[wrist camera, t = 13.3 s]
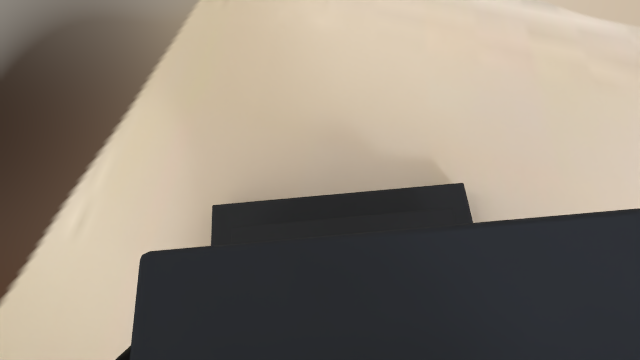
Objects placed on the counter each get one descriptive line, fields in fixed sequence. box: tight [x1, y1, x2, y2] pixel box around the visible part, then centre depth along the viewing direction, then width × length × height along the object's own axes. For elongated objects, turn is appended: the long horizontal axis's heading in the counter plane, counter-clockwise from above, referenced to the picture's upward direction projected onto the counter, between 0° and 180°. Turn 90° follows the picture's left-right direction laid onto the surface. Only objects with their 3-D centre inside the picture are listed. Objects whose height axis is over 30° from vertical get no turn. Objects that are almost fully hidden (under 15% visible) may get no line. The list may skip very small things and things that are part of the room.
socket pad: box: [211, 183, 473, 246], centre depth 14 cm, size 13×13×4 cm
